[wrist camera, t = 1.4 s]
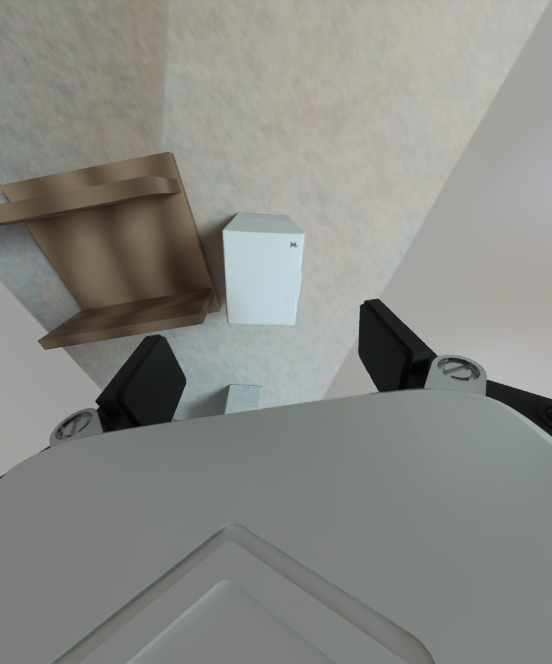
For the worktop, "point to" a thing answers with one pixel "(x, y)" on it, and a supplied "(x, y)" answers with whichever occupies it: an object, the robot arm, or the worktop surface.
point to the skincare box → (243, 398)
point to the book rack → (118, 247)
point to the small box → (262, 269)
